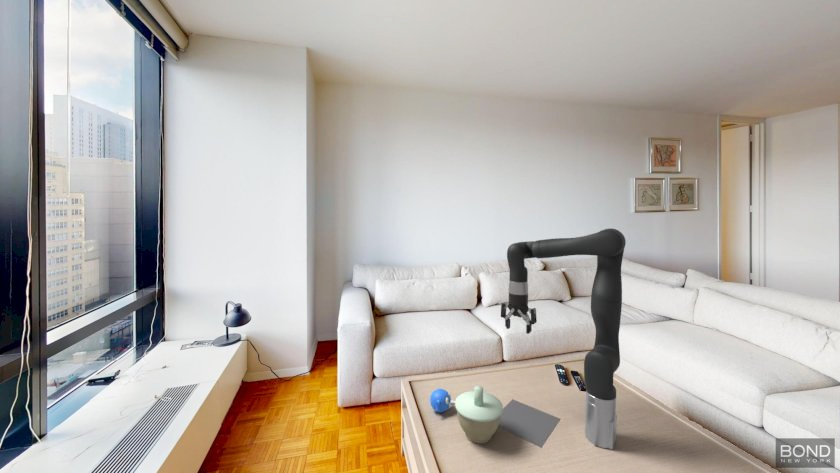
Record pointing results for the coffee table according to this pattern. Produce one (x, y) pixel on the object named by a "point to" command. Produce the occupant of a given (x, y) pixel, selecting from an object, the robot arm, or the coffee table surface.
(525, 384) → the coffee table surface
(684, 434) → the coffee table surface
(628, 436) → the coffee table surface
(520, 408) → the mat
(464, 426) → the planter bowl
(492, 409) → the lid
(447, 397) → the blue mole toy
